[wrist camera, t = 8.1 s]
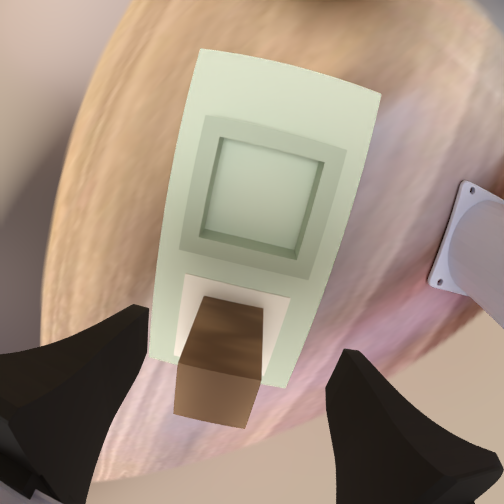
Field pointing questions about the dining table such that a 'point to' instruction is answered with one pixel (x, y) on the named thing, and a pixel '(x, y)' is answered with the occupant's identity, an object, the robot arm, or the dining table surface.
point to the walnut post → (221, 363)
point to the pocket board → (258, 199)
